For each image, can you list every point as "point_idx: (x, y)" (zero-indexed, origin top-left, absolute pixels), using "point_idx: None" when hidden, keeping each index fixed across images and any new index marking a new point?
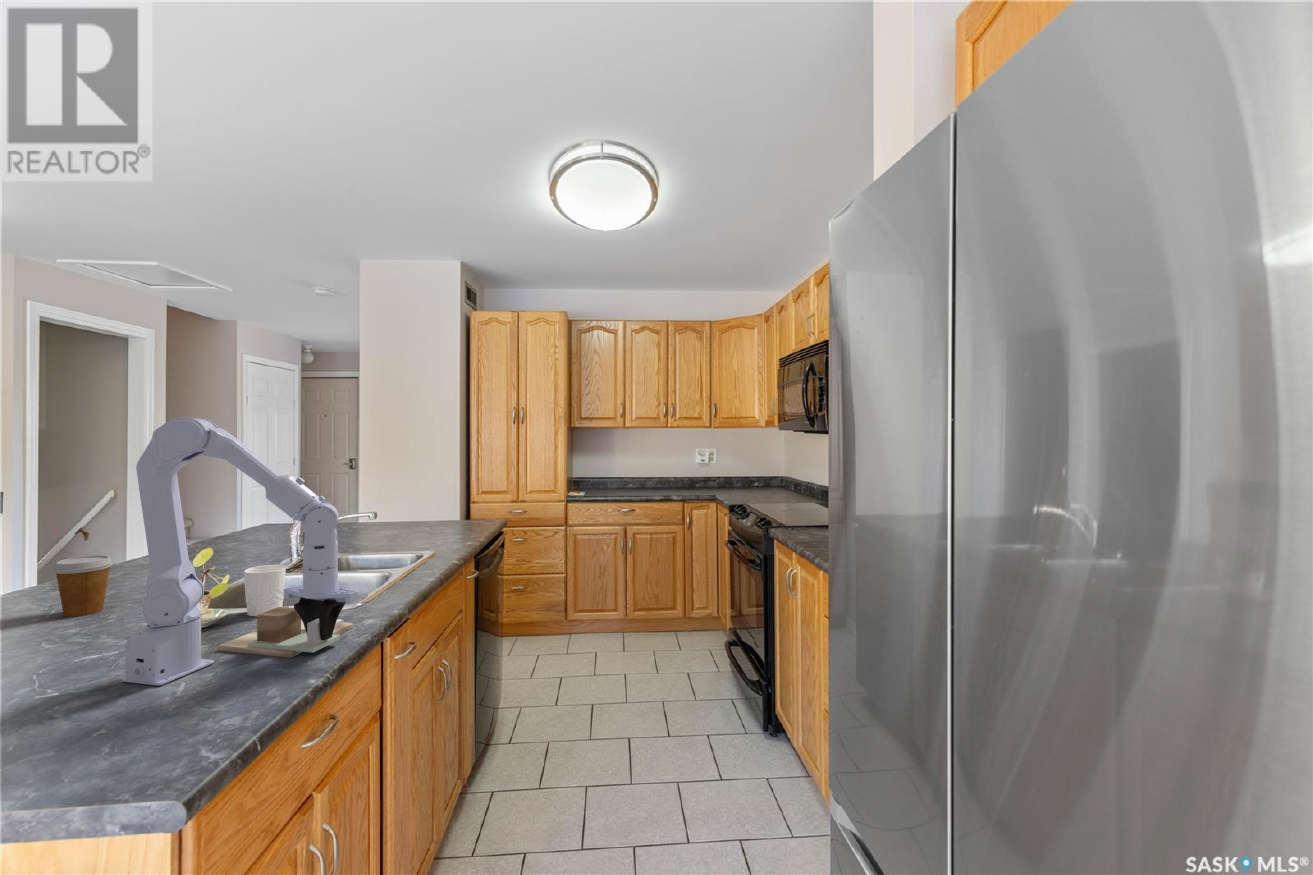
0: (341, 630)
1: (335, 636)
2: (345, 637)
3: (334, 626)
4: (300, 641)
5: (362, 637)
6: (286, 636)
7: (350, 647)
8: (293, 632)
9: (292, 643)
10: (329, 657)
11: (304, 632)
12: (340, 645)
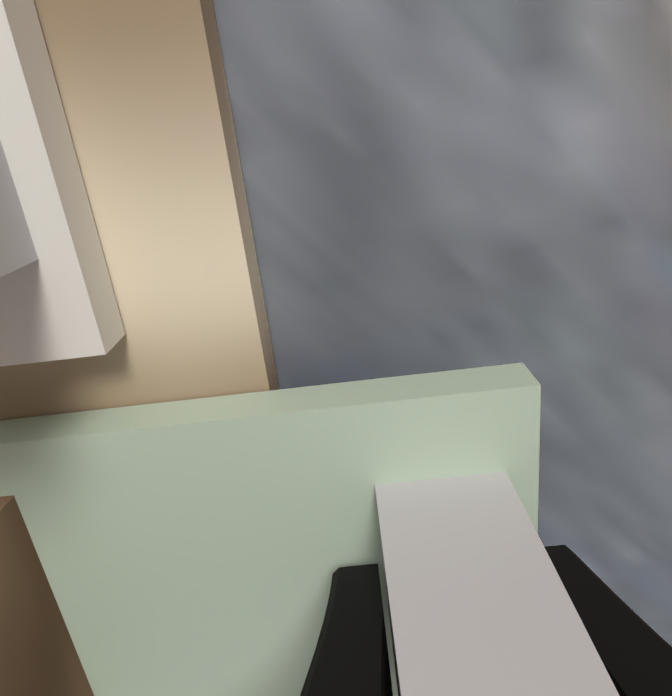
0: (209, 25)
1: (515, 437)
2: (380, 125)
3: (659, 641)
4: (253, 641)
5: (606, 43)
6: (60, 693)
7: (667, 357)
8: (22, 631)
9: (233, 694)
10: (626, 576)
11: (4, 453)
12: (519, 348)
